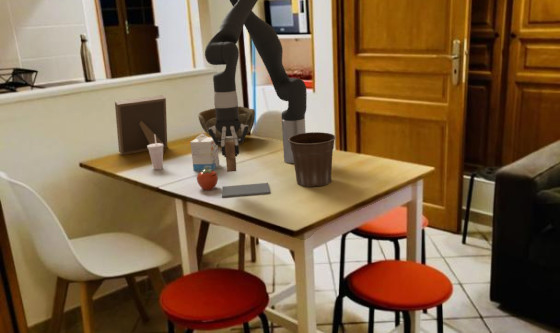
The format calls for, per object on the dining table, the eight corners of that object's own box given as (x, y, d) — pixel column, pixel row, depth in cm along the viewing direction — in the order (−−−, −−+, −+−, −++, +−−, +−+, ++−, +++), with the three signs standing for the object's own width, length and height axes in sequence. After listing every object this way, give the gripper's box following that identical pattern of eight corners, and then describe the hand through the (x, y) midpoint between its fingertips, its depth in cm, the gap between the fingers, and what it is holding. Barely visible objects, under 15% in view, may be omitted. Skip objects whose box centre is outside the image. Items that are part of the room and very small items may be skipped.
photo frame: (119, 153, 240) (111, 99, 233) (164, 145, 251) (158, 93, 244) (128, 160, 228) (120, 103, 221) (175, 151, 239) (169, 97, 231)
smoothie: (169, 166, 214) (165, 133, 210) (159, 170, 208) (155, 136, 204) (156, 165, 216) (152, 132, 213) (146, 169, 211) (142, 136, 207)
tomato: (215, 191, 179) (213, 169, 176) (194, 191, 180) (192, 169, 178) (221, 185, 186) (219, 163, 183) (201, 185, 187) (199, 163, 185)
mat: (268, 184, 183) (268, 182, 183) (270, 193, 174) (269, 191, 173) (222, 188, 182) (222, 186, 182) (222, 197, 172) (221, 195, 172)
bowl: (234, 150, 232) (231, 117, 228) (189, 145, 247) (186, 114, 243) (268, 137, 254) (266, 107, 250) (225, 133, 269) (223, 104, 265)
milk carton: (213, 170, 204) (209, 137, 200) (193, 170, 206) (189, 137, 202) (219, 164, 212) (216, 132, 208) (200, 164, 214) (197, 132, 210)
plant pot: (323, 192, 172) (321, 144, 167) (282, 186, 180) (279, 141, 176) (344, 178, 185) (343, 133, 181) (305, 173, 194) (303, 130, 189)
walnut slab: (236, 164, 177) (233, 135, 174) (236, 171, 171) (233, 141, 167) (227, 164, 177) (224, 136, 174) (227, 171, 171) (224, 142, 167)
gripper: (247, 101, 173) (251, 151, 178) (205, 104, 172) (210, 155, 177) (248, 105, 166) (252, 157, 170) (204, 108, 165) (209, 160, 170)
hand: (230, 155), depth 174 cm, fingers closed on walnut slab, 3 cm apart
